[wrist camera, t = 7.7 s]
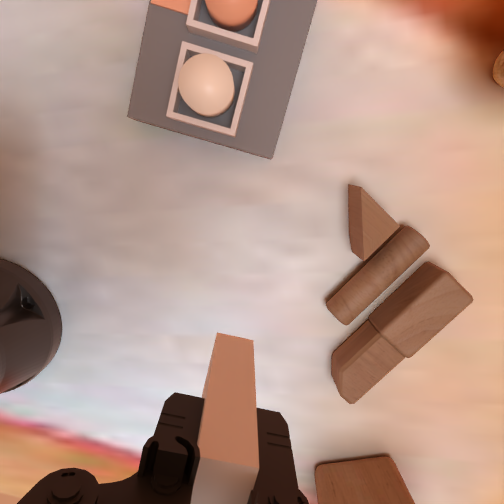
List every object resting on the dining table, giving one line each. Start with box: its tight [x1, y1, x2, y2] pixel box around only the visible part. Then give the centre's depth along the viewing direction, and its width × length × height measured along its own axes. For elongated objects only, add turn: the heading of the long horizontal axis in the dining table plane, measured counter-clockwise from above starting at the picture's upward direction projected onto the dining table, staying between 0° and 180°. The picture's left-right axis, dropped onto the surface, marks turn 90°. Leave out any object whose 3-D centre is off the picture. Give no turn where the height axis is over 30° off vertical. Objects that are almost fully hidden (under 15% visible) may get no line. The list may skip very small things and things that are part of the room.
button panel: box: [127, 0, 317, 159], centre depth 33 cm, size 14×23×5 cm, turn 164°
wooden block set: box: [326, 184, 473, 404], centre depth 39 cm, size 17×6×18 cm
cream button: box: [178, 53, 235, 117], centre depth 31 cm, size 4×4×3 cm
